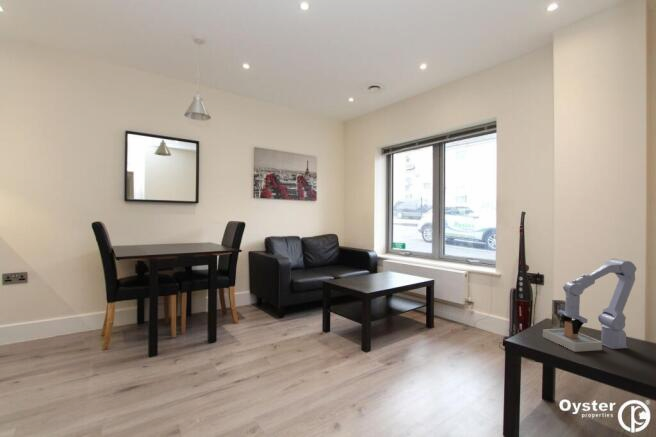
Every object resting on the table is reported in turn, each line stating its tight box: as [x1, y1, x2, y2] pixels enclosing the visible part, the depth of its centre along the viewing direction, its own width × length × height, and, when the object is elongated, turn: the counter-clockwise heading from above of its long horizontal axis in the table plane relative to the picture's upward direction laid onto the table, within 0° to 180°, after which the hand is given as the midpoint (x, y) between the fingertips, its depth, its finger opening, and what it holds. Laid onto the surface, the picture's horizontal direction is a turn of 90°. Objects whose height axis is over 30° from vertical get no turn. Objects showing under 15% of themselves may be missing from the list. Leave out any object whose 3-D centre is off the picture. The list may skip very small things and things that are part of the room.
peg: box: [564, 321, 578, 339], centre depth 160 cm, size 4×4×8 cm
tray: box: [542, 328, 603, 353], centre depth 160 cm, size 16×18×4 cm
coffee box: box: [551, 299, 566, 329], centre depth 178 cm, size 9×6×16 cm
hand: (571, 332), depth 160 cm, fingers closed on peg, 4 cm apart
